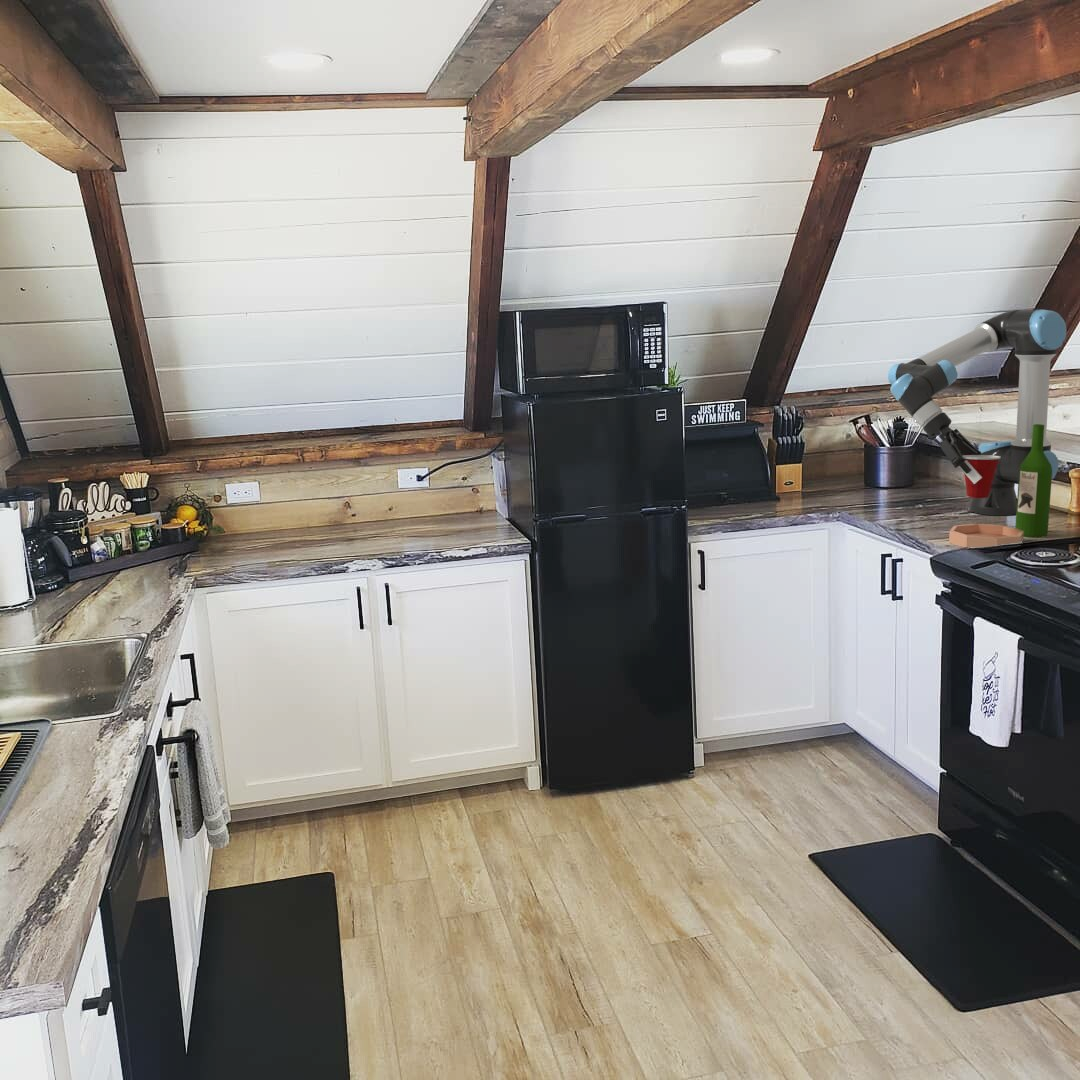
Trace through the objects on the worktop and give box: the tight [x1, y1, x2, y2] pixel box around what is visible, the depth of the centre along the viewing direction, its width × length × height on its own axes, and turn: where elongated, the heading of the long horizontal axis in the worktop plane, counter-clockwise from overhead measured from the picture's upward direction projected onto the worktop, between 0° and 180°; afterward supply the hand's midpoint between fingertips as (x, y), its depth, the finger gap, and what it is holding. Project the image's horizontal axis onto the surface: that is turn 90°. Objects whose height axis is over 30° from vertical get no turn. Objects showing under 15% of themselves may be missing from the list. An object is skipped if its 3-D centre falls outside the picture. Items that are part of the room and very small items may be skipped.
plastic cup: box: [962, 454, 1001, 499], centre depth 321 cm, size 11×11×12 cm
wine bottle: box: [1014, 424, 1053, 538], centre depth 329 cm, size 9×9×32 cm
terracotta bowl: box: [948, 523, 1024, 548], centre depth 323 cm, size 19×19×4 cm
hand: (984, 478), depth 320 cm, fingers closed on plastic cup, 10 cm apart
